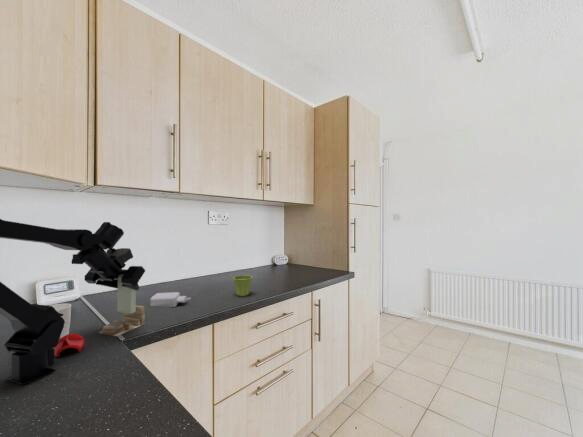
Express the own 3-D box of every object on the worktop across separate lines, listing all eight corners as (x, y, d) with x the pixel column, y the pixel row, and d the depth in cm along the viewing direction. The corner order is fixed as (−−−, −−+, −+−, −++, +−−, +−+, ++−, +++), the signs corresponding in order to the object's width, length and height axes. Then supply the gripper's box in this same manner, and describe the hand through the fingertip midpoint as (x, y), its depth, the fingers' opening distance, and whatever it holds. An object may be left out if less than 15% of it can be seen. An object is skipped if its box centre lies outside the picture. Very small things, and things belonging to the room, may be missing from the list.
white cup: (34, 348, 75) (34, 313, 75) (39, 338, 82) (39, 306, 82) (69, 341, 80) (70, 308, 80) (72, 332, 86) (72, 301, 86)
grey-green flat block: (130, 313, 86) (131, 270, 86) (117, 311, 88) (117, 269, 88) (135, 311, 88) (135, 269, 88) (122, 309, 90) (122, 268, 90)
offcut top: (113, 331, 81) (113, 327, 81) (103, 329, 83) (103, 326, 83) (123, 326, 85) (123, 323, 85) (113, 325, 86) (113, 322, 86)
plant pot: (254, 296, 127) (254, 278, 127) (234, 298, 124) (234, 279, 124) (250, 291, 136) (250, 274, 136) (231, 293, 132) (231, 276, 132)
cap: (89, 344, 71) (89, 326, 75) (61, 344, 67) (63, 325, 71) (75, 365, 72) (76, 346, 76) (47, 366, 68) (50, 347, 72)
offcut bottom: (113, 335, 81) (113, 331, 81) (101, 333, 83) (101, 329, 83) (125, 330, 85) (125, 326, 85) (113, 328, 86) (113, 324, 86)
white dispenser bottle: (188, 307, 111) (150, 309, 109) (192, 301, 120) (157, 302, 118) (188, 296, 111) (150, 298, 109) (192, 290, 121) (157, 292, 118)
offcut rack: (116, 340, 80) (116, 316, 81) (97, 336, 83) (97, 313, 83) (144, 327, 90) (144, 306, 90) (127, 324, 93) (127, 304, 93)
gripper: (140, 241, 82) (165, 269, 93) (93, 240, 87) (122, 267, 97) (118, 270, 75) (148, 298, 85) (68, 268, 79) (102, 295, 90)
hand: (130, 288), depth 89 cm, fingers closed on grey-green flat block, 6 cm apart
